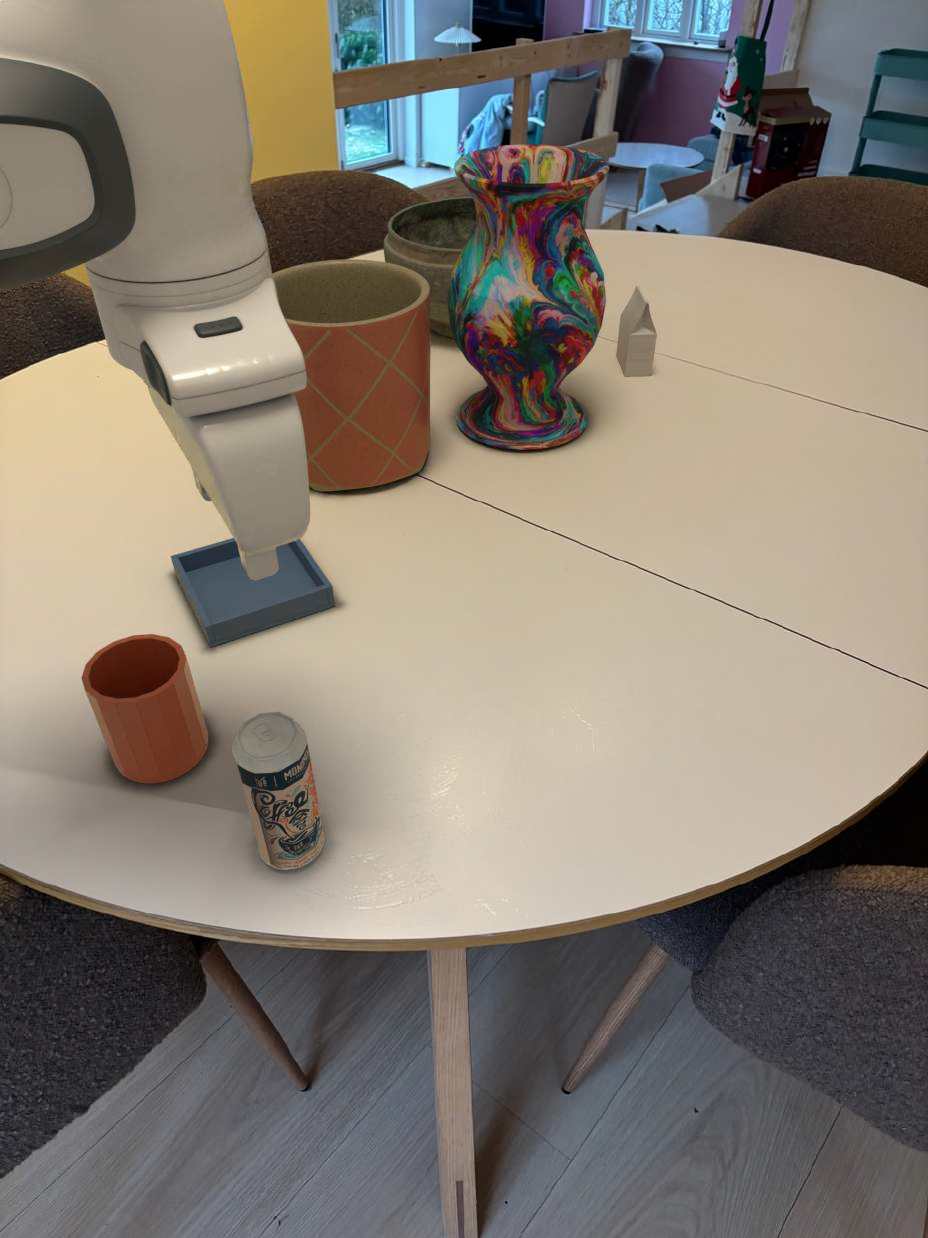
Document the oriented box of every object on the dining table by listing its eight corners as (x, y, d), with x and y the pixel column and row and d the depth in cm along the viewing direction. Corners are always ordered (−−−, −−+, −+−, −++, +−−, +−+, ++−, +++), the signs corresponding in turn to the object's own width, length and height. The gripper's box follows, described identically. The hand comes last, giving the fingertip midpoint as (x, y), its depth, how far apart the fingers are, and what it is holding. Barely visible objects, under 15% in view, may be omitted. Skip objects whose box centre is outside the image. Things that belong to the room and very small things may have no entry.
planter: (458, 480, 103) (455, 309, 90) (294, 513, 98) (267, 337, 85) (407, 407, 116) (399, 250, 103) (262, 433, 111) (233, 271, 98)
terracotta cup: (125, 797, 68) (92, 716, 62) (105, 734, 73) (73, 653, 67) (220, 761, 71) (197, 680, 65) (194, 703, 76) (171, 622, 70)
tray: (210, 647, 81) (205, 627, 80) (175, 575, 89) (170, 555, 88) (335, 606, 86) (332, 585, 84) (291, 541, 94) (288, 521, 92)
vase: (584, 464, 105) (610, 191, 86) (434, 448, 108) (425, 181, 89) (601, 394, 119) (626, 145, 99) (467, 381, 122) (465, 138, 102)
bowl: (385, 286, 149) (378, 190, 140) (539, 279, 151) (543, 184, 141) (392, 370, 125) (385, 261, 115) (576, 361, 127) (584, 252, 117)
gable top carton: (624, 376, 123) (633, 304, 116) (616, 355, 128) (623, 285, 122) (651, 375, 123) (661, 303, 116) (641, 354, 128) (650, 284, 122)
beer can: (281, 886, 62) (254, 775, 55) (246, 843, 65) (215, 731, 57) (338, 847, 65) (319, 736, 57) (301, 807, 67) (279, 696, 60)
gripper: (88, 259, 52) (145, 466, 61) (180, 402, 38) (236, 642, 47) (195, 241, 54) (234, 444, 63) (318, 370, 40) (347, 605, 49)
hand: (236, 530), depth 55 cm, fingers open, 8 cm apart
